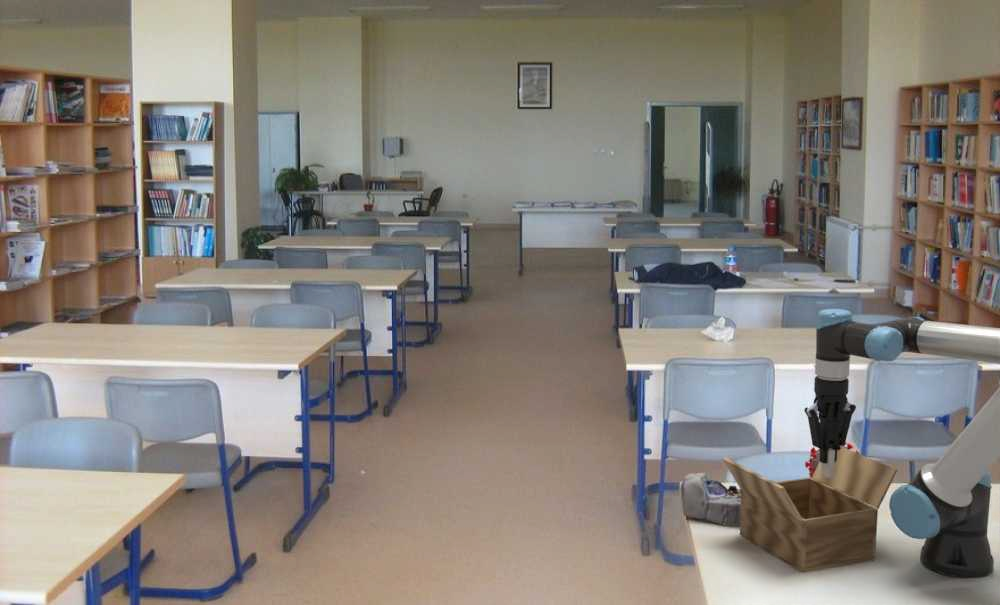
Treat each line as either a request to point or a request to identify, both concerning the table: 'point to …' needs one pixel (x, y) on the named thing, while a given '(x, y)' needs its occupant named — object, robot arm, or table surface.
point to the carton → (812, 527)
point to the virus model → (816, 459)
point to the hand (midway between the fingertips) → (827, 475)
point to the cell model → (710, 500)
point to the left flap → (762, 488)
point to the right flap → (859, 477)
